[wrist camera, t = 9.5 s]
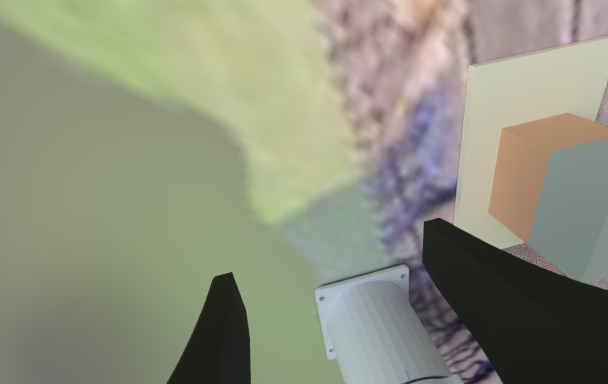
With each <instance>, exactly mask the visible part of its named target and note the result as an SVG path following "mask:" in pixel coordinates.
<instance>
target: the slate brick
mask: <svg viewBox="0 0 608 384" xmlns="http://www.w3.org/2000/svg"><path fill="white" fill-rule="evenodd" d="M527 244H528V245H529V246H531V247H532V248H533V249H534V250H536V251H537V252H538V253H539V254H540V255H542V256H543V257H544V258H545V259H547V260H548V261H549V262H550V263H551V264H553V265H554V266H555V267H556V268H558V269H559V270H560V271H561V272H562V273H564V274H565V275H566V276H567V277H569V278H571V279H573V280H576V281H579V282H583V283H586V284H589V283H592V282H596V281H599V280H603V279H606V278H608V137H606V138H602V139H598V140H594V141H590V142H586V143H582V144H578V145H574V146H570V147H566V148H562V149H558V150H554V151H551V152H550V156H549V160H548V164H547V168H546V172H545V176H544V180H543V184H542V188H541V192H540V196H539V200H538V203H537V207H536V211H535V215H534V219H533V223H532V227H531V231H530V235H529V239H528V243H527Z"/></svg>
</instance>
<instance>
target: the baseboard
mask: <svg viewBox="0 0 608 384" xmlns="http://www.w3.org/2000/svg"><path fill="white" fill-rule="evenodd" d="M607 82H608V35H606V36H601V37H597V38H592V39H587V40H583V41H578V42H574V43H569V44H564V45H560V46H555V47H551V48H546V49H541V50H537V51H532V52H528V53H523V54H518V55H514V56H509V57H504V58H500V59H495V60H491V61H486V62H481V63H477V64H472V65H469V71H468V81H467V91H466V101H465V111H464V121H463V131H462V141H461V151H460V161H459V171H458V181H457V191H456V201H455V211H454V221H453V225H455V226H456V227H458V228H460V229H462V230H464V231H466V232H468V233H469V234H471V235H473V236H475V237H477V238H479V239H481V240H483V241H485V242H487V243H489V244H491V245H493V246H495V247H497V248H499V249H504V248H508V247H512V246H515V245H519V244H522V243H525V242H524V241H522V240H521V239H520V238H519V237H517V236H516V235H515V234H514V233H513V232H511V231H510V230H509V229H508V228H507V227H505V226H504V225H503V224H502V223H500V222H499V221H498V220H497V219H496V218H494V217H493V216H492V215H491V214H490V213H488V210H489V203H490V197H491V191H492V185H493V179H494V173H495V167H496V161H497V155H498V149H499V143H500V137H501V130H502V128H506V127H510V126H514V125H518V124H522V123H527V122H531V121H535V120H539V119H543V118H548V117H552V116H556V115H560V114H564V113H571V114H574V115H576V116H579V117H582V118H585V119H588V120H591V121H594V122H595V120H596V117H597V113H598V110H599V107H600V104H601V101H602V98H603V94H604V91H605V88H606V85H607Z"/></svg>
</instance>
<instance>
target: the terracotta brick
mask: <svg viewBox="0 0 608 384" xmlns="http://www.w3.org/2000/svg"><path fill="white" fill-rule="evenodd" d="M606 137H608V126H605V125H602V124H600V123H597V122H594V121H591V120H588V119H585V118H582V117H579V116H576V115H574V114H571V113H564V114H560V115H556V116H552V117H548V118H543V119H539V120H535V121H531V122H527V123H522V124H518V125H514V126H510V127H506V128H502V130H501V137H500V143H499V149H498V155H497V161H496V167H495V173H494V179H493V185H492V191H491V197H490V203H489V210H488V213H490V214H491V215H492V216H493V217H494V218H496V219H497V220H498V221H499V222H500V223H502V224H503V225H504V226H505V227H507V228H508V229H509V230H510V231H511V232H513V233H514V234H515V235H516V236H517V237H519V238H520V239H521V240H522V241H524V242H525V243H526V244H527V243H528V239H529V235H530V231H531V227H532V223H533V219H534V215H535V211H536V207H537V203H538V200H539V196H540V192H541V188H542V184H543V180H544V176H545V172H546V168H547V164H548V160H549V156H550V152H551V151H554V150H558V149H562V148H566V147H570V146H574V145H578V144H582V143H586V142H590V141H594V140H598V139H602V138H606Z"/></svg>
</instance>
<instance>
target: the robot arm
mask: <svg viewBox="0 0 608 384" xmlns="http://www.w3.org/2000/svg"><path fill="white" fill-rule="evenodd" d="M422 263H423V264H424V266H425V268H426V270H427V272H428V274H429V275H430V277H431V279H432V281H433V282H434V284H435V286H436V287H437V288H438V290H439V291H440V292H441V294H442V295H443V297H444V298H445V299H446V301H447V302H448V303H449V305H450V306H451V307H452V309H453V310H454V311H455V313H456V314H457V315H458V316H459V318H460V319H461V320H462V322H463V323H464V324H465V326H466V327H467V328H468V330H469V331H470V332H471V334H472V335H473V336H474V338H475V339H476V341H477V342H478V344H479V345H480V346H481V348H482V349H483V351H484V353H485V354H486V356H487V358H488V359H489V361H490V362H491V364H492V366H493V367H494V369H495V371H496V372H497V374H498V376H499V377H500V379H501V381H502V382H503V384H608V290H605V289H602V288H598V287H595V286H592V285H589V284H586V283H583V282H579V281H576V280H573V279H571V278H568V277H565V276H562V275H559V274H557V273H554V272H552V271H549V270H546V269H544V268H541V267H539V266H536V265H534V264H531V263H529V262H527V261H525V260H522V259H520V258H518V257H516V256H513V255H511V254H509V253H507V252H505V251H503V250H501V249H499V248H497V247H495V246H493V245H491V244H489V243H487V242H485V241H483V240H481V239H479V238H477V237H475V236H473V235H471V234H469V233H468V232H466V231H464V230H462V229H460V228H458V227H456V226H455V225H453V224H451V223H449V222H447V221H445V220H443V219H441V218H436V219H433V220H429V221H425V222H424V233H423V257H422ZM315 297H316V302H317V307H318V312H319V317H320V322H321V327H322V332H323V337H324V342H325V347H326V352H327V357H328V359H331V360H333V359H336V358H337V360H338V363H339V366H340V369H341V372H342V375H343V378H344V381H345V384H464V383H463V381H462V379H461V378H460V376H459V375H458V374H455V375H453V374H452V372H451V371H450V369H449V367H448V366H447V364H446V362H445V361H444V359H443V357H442V356H441V354H440V353H439V351H438V349H437V348H436V346H435V344H434V343H433V341H432V339H431V338H430V336H429V334H428V333H427V331H426V329H425V328H424V326H423V325H422V323H421V321H420V320H419V318H418V316H417V315H416V313H415V311H414V310H413V308H412V306H411V305H410V303H409V268H408V267H407V266H406V265H399V266H395V267H392V268H388V269H384V270H381V271H377V272H373V273H370V274H366V275H362V276H359V277H355V278H351V279H348V280H344V281H341V282H337V283H333V284H330V285H326V286H322V287H319V288H317V289H316V290H315ZM167 384H251V372H250V337H249V328H248V321H247V314H246V309H245V306H244V304H243V301H242V298H241V295H240V293H239V290H238V287H237V284H236V282H235V279H234V277H233V273H232V272H230V273H226V274H223V275H219V276H215V277H214V278H213V280H212V283H211V286H210V289H209V292H208V295H207V298H206V301H205V303H204V306H203V309H202V311H201V314H200V316H199V319H198V321H197V323H196V326H195V328H194V331H193V333H192V335H191V337H190V339H189V341H188V343H187V346H186V348H185V350H184V352H183V354H182V356H181V358H180V360H179V362H178V364H177V366H176V368H175V369H174V371H173V373H172V375H171V377H170V378H169V380H168V382H167Z"/></svg>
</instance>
